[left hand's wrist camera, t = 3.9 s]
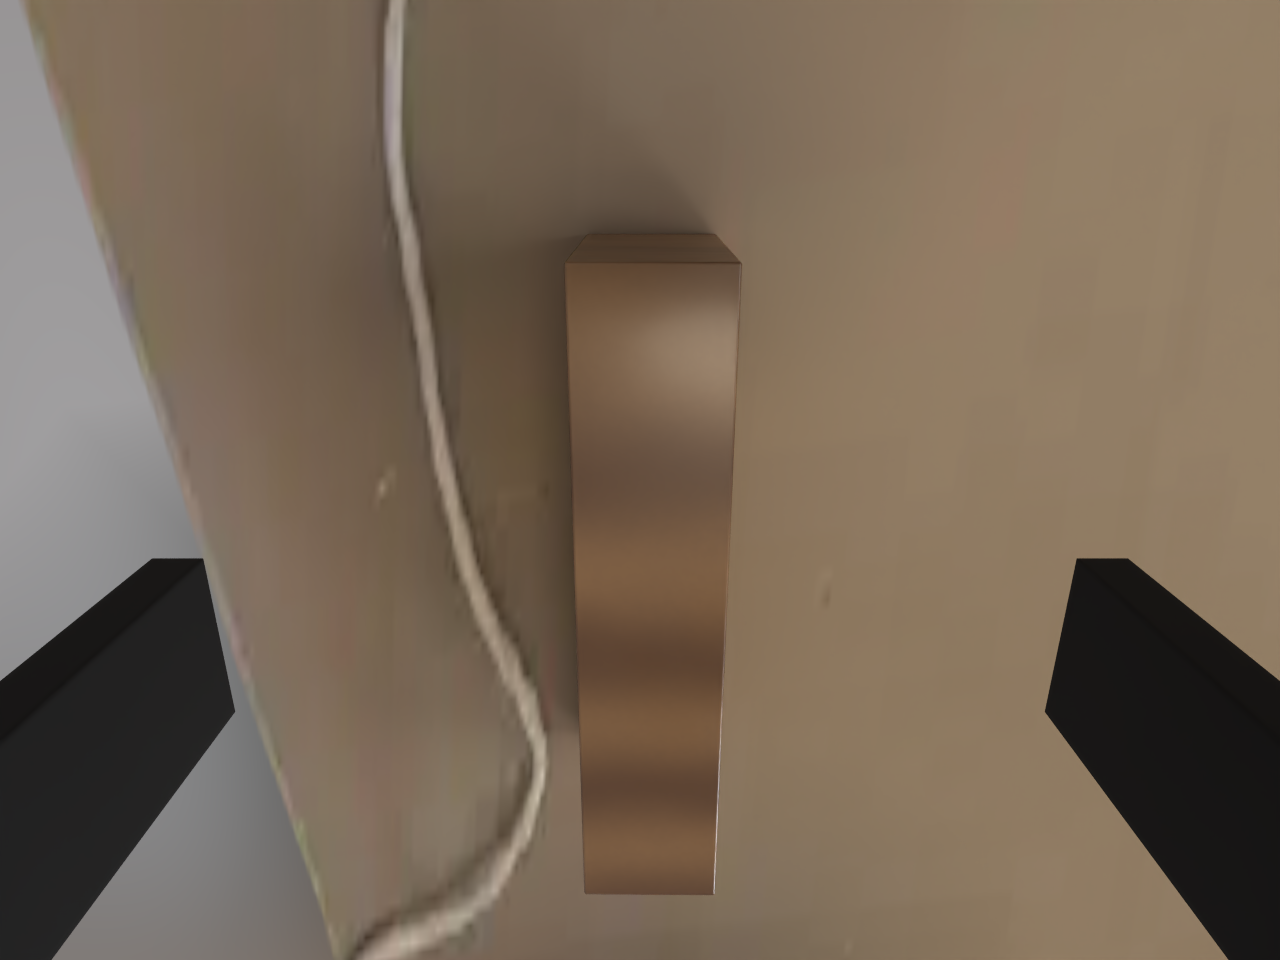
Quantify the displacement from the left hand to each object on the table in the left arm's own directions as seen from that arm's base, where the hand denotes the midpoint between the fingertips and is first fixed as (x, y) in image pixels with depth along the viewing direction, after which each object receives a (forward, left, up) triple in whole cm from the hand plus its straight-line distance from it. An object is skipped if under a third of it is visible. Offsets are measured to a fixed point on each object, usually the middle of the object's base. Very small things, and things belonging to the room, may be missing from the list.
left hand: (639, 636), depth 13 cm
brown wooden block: (+8, 0, -23) cm, 24 cm away
